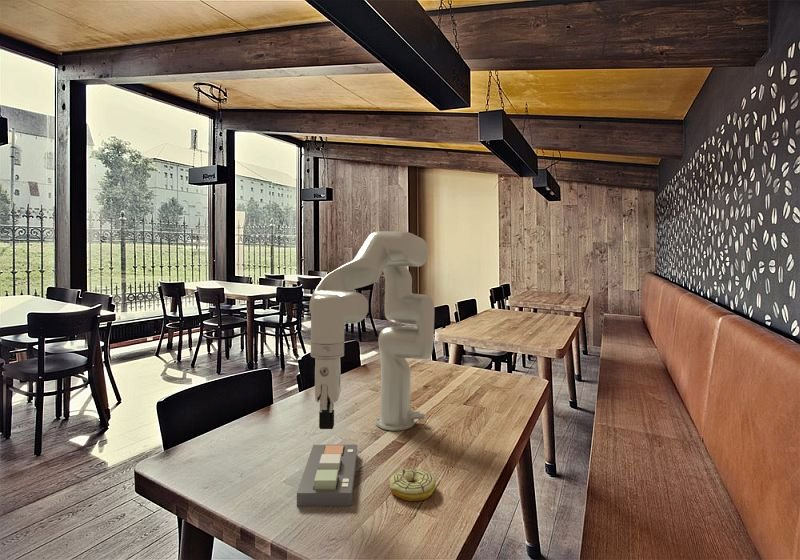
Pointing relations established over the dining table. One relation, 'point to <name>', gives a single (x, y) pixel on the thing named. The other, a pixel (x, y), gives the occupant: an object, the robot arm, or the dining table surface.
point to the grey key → (330, 462)
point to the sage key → (326, 480)
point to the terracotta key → (334, 449)
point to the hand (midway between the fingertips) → (326, 427)
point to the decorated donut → (412, 484)
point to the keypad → (344, 486)
